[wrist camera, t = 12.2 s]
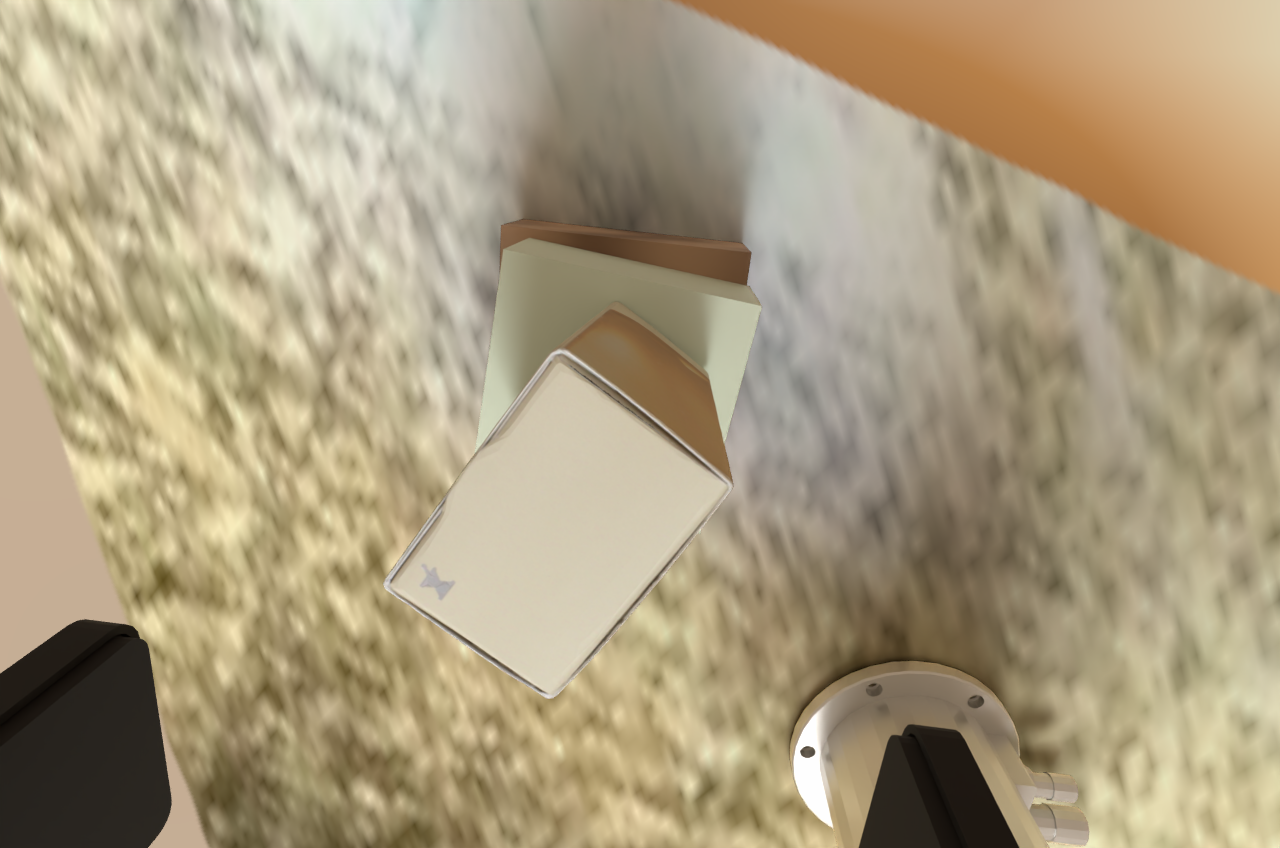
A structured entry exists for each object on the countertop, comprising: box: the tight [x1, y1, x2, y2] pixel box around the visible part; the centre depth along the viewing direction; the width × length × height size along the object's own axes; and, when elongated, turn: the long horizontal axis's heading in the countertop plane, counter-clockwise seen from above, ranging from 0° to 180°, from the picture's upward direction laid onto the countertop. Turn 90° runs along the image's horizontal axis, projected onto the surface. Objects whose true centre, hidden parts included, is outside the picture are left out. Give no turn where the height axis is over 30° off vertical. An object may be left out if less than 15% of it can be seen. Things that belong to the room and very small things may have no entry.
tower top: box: [475, 238, 762, 534], centre depth 27 cm, size 9×9×4 cm
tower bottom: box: [500, 219, 751, 286], centre depth 32 cm, size 10×10×4 cm
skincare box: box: [383, 302, 733, 699], centre depth 19 cm, size 6×4×12 cm
